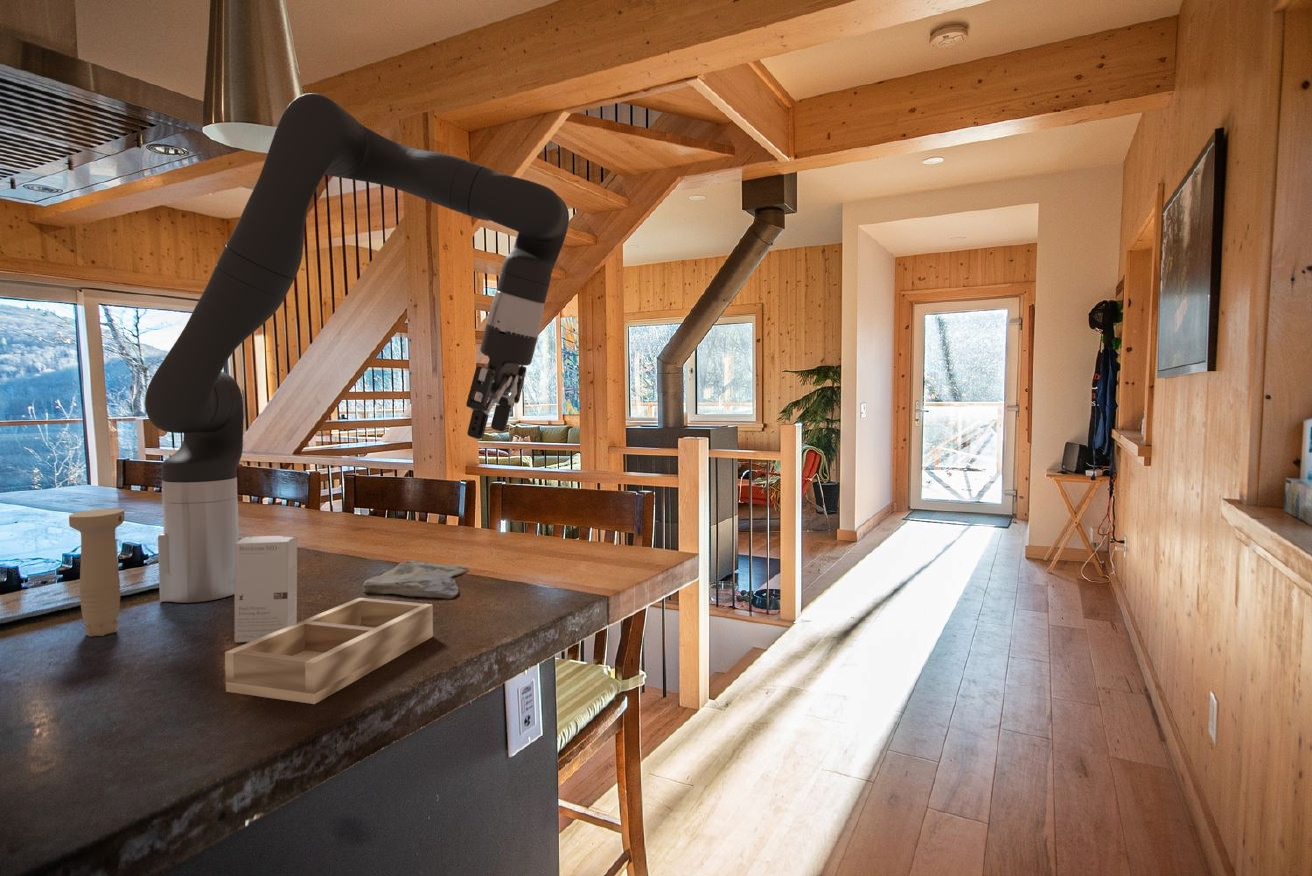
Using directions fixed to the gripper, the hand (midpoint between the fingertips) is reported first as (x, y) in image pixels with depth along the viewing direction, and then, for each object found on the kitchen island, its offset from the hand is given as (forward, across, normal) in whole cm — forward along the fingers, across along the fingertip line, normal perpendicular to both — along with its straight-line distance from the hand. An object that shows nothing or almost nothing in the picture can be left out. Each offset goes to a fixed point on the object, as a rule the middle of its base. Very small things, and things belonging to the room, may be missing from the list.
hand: (486, 433), depth 105 cm
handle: (+32, +28, -31) cm, 53 cm away
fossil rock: (+28, -2, -4) cm, 28 cm away
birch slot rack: (+22, +31, +2) cm, 38 cm away
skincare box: (+27, +25, -11) cm, 38 cm away
